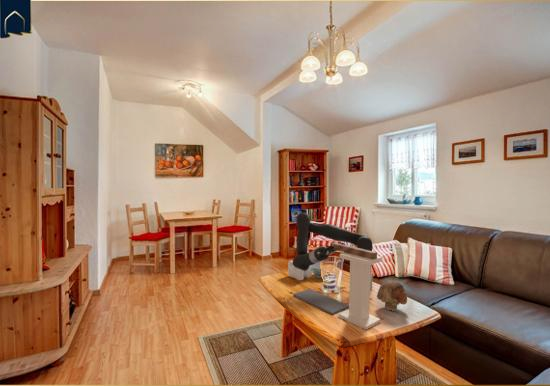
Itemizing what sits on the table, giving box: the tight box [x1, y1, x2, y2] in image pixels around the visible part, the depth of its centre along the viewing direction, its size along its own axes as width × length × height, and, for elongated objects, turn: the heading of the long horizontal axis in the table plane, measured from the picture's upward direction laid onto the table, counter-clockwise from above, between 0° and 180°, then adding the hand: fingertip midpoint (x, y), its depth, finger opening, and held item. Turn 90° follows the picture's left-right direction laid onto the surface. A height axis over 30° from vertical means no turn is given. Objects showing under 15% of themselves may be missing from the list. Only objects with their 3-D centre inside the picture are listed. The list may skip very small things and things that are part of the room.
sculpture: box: [376, 280, 408, 312], centre depth 150 cm, size 15×16×15 cm
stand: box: [337, 252, 383, 330], centre depth 138 cm, size 16×12×32 cm
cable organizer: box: [287, 260, 312, 281], centre depth 198 cm, size 15×11×12 cm
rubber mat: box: [292, 288, 349, 316], centre depth 159 cm, size 30×14×1 cm, turn 38°
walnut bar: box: [329, 242, 378, 260], centre depth 142 cm, size 26×3×3 cm, turn 38°
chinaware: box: [311, 262, 321, 278], centre depth 202 cm, size 15×15×8 cm
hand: (338, 245), depth 148 cm, fingers open, 8 cm apart
